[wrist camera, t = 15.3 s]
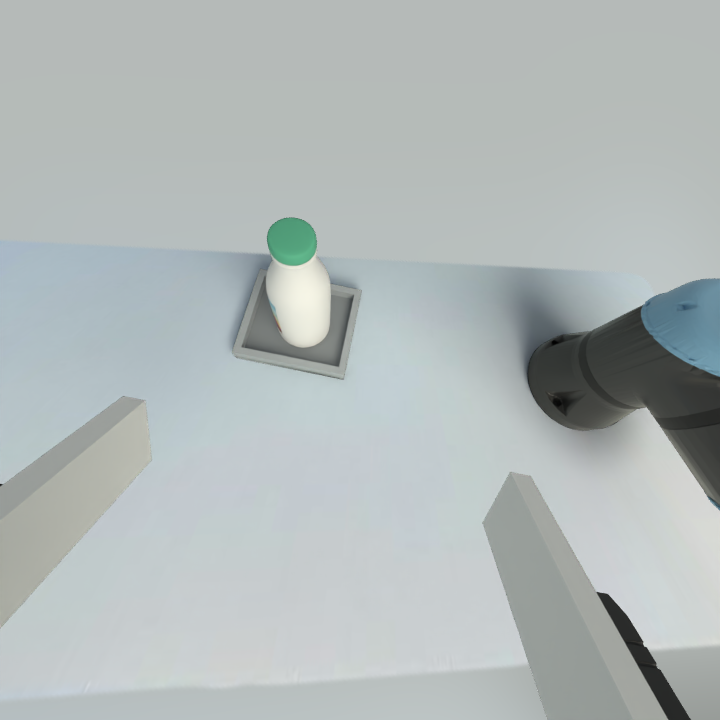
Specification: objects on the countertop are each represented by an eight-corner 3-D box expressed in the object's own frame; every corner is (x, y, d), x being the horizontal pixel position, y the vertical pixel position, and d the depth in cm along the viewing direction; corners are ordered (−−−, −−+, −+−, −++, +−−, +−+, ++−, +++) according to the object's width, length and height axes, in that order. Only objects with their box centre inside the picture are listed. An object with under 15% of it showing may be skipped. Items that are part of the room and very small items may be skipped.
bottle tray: (360, 298, 52) (361, 290, 50) (343, 379, 48) (344, 375, 45) (262, 277, 52) (260, 268, 49) (236, 358, 47) (231, 352, 45)
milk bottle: (338, 316, 50) (347, 224, 31) (314, 358, 47) (307, 285, 28) (295, 294, 50) (277, 190, 31) (268, 334, 48) (231, 246, 29)
